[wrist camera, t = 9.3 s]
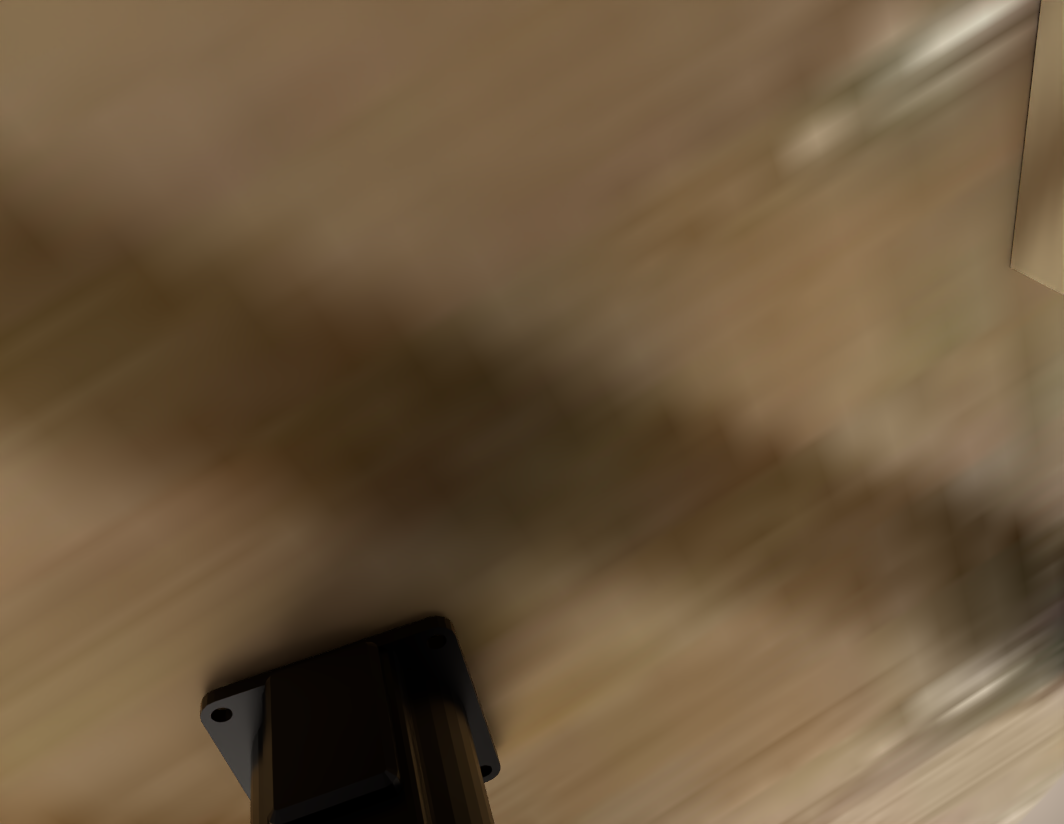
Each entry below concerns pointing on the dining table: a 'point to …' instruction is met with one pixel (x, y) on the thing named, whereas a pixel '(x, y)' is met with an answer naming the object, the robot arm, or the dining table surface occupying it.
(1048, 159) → the rail
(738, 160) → the dining table surface
